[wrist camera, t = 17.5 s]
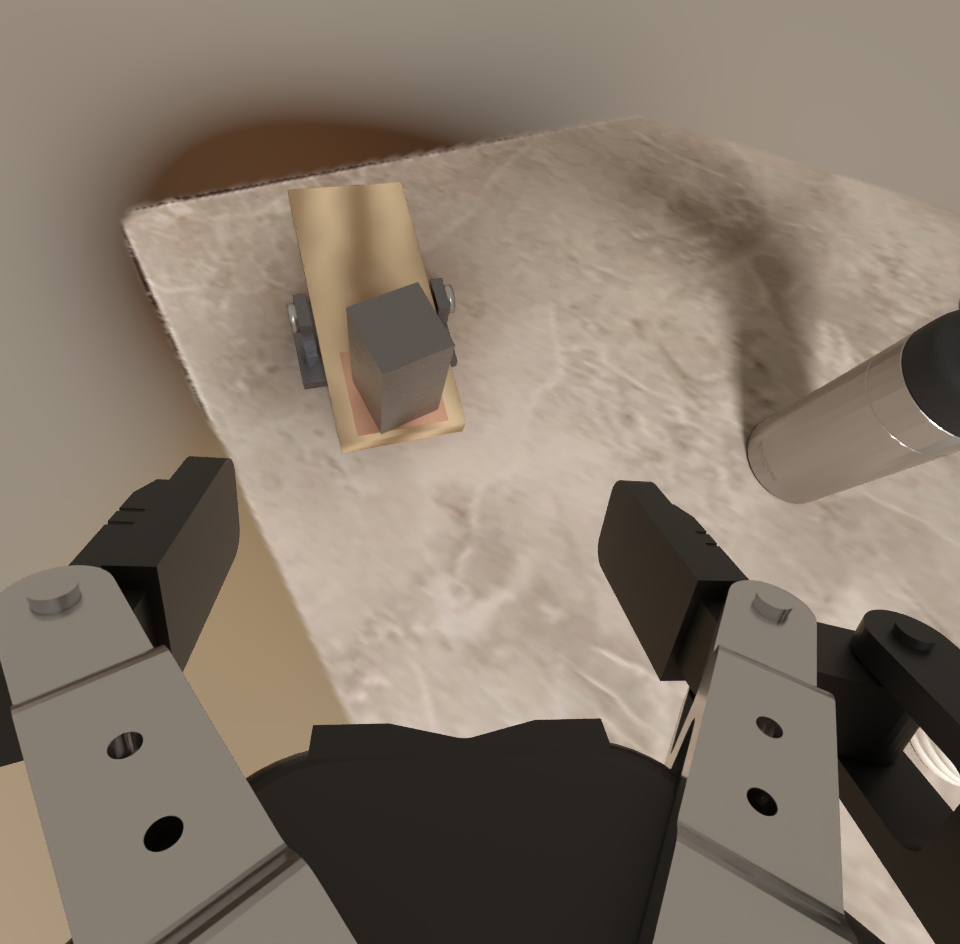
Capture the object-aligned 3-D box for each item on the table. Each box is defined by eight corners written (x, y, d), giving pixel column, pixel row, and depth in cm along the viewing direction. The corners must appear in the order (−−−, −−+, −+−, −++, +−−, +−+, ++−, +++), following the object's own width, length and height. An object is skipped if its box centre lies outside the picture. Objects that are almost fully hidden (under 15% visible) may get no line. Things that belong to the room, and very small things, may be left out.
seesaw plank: (400, 198, 52) (401, 180, 50) (462, 431, 46) (466, 421, 44) (290, 207, 49) (287, 188, 47) (341, 453, 43) (340, 443, 41)
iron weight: (409, 358, 44) (418, 281, 35) (438, 409, 44) (454, 345, 34) (352, 380, 43) (345, 307, 34) (381, 434, 42) (382, 374, 33)
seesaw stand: (435, 294, 54) (443, 252, 48) (455, 365, 52) (465, 330, 46) (289, 312, 51) (278, 268, 45) (304, 389, 49) (294, 354, 43)
